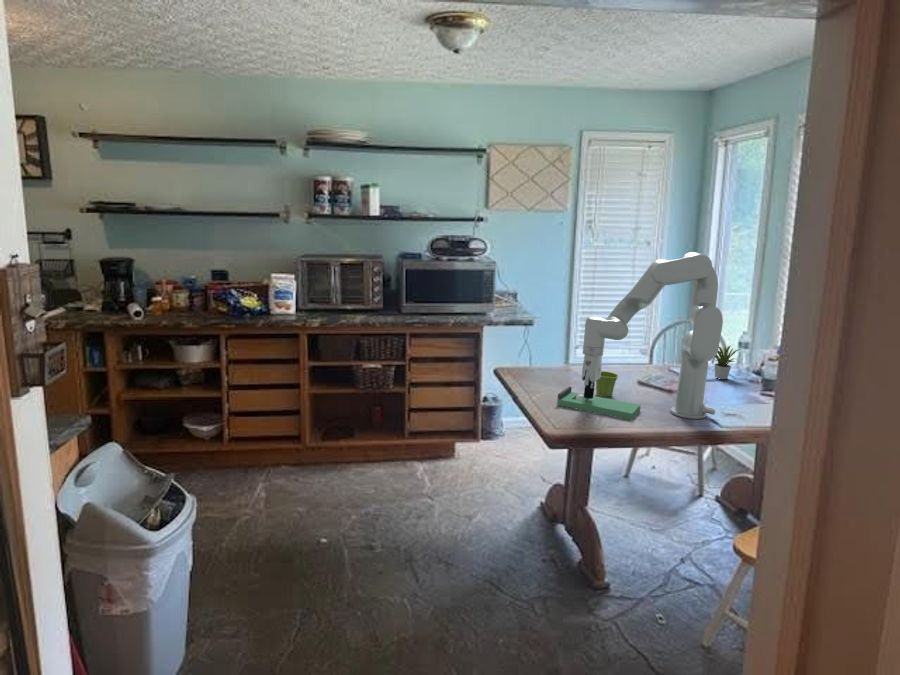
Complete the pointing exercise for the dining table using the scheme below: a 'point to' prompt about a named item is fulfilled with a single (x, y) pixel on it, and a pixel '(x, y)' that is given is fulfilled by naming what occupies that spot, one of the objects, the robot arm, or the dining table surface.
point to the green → (598, 405)
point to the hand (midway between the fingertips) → (588, 397)
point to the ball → (580, 398)
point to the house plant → (723, 363)
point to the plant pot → (606, 384)
